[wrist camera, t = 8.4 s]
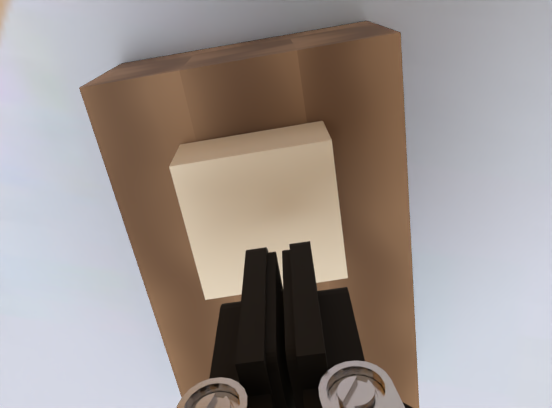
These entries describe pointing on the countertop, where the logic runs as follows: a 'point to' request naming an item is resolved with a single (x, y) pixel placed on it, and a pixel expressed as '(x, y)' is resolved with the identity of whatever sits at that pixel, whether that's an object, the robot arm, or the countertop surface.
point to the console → (258, 117)
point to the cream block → (259, 202)
